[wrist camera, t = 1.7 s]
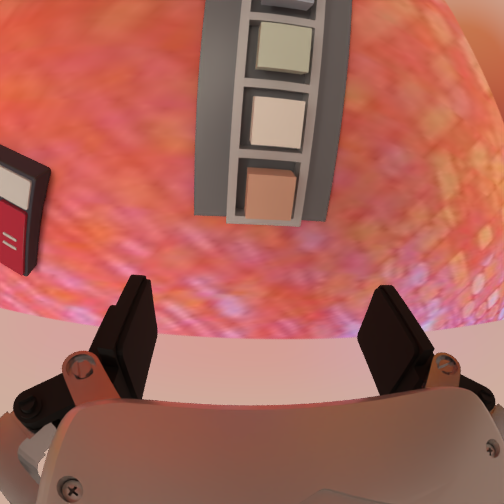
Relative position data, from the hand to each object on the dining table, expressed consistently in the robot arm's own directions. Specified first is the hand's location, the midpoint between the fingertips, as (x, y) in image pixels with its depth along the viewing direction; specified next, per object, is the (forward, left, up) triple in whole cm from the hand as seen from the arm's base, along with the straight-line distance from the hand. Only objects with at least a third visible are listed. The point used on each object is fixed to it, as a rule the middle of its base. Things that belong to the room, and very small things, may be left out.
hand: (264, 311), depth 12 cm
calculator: (+3, -30, -21) cm, 37 cm away
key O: (-6, +2, -17) cm, 18 cm away
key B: (0, +2, -17) cm, 17 cm away
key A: (-13, +2, -17) cm, 22 cm away
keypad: (-9, +2, -20) cm, 22 cm away
